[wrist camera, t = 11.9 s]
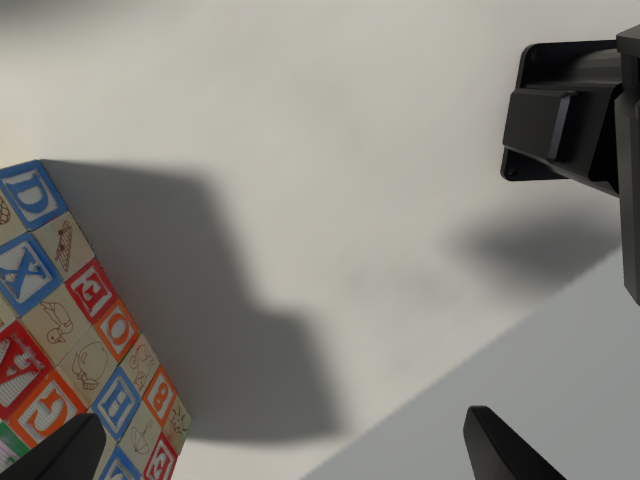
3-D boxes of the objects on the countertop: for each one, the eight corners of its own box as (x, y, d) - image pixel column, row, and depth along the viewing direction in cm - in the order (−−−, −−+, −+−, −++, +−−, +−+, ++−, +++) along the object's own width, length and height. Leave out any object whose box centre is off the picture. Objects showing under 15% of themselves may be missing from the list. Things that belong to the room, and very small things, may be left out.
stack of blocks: (-60, 183, 19) (-571, 328, 8) (41, 155, 19) (-361, 272, 8) (122, 433, 28) (-4, 666, 17) (195, 420, 28) (113, 652, 16)
